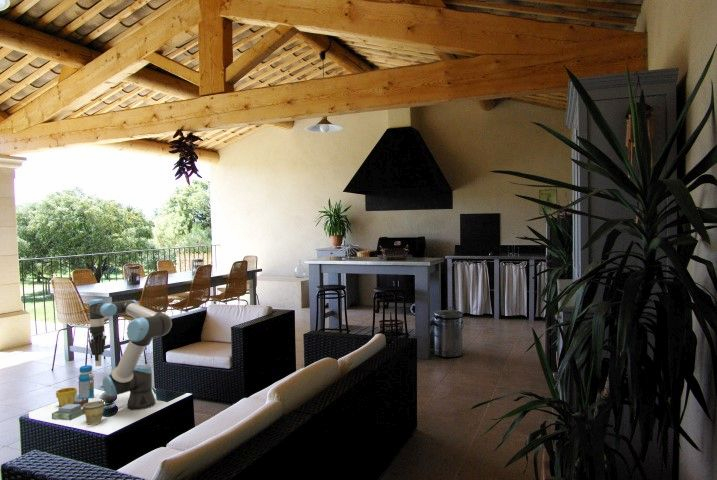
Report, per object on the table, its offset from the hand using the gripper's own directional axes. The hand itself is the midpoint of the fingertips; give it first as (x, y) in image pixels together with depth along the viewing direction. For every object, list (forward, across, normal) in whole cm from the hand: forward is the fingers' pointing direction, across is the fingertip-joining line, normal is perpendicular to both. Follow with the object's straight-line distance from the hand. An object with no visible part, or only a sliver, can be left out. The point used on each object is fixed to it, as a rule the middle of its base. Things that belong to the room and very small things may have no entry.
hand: (98, 366), depth 282 cm
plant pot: (+24, +1, -20) cm, 31 cm away
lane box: (+24, +12, -4) cm, 27 cm away
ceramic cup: (+24, +23, +15) cm, 36 cm away
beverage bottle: (+23, -13, -18) cm, 32 cm away
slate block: (+23, +18, -5) cm, 29 cm away
